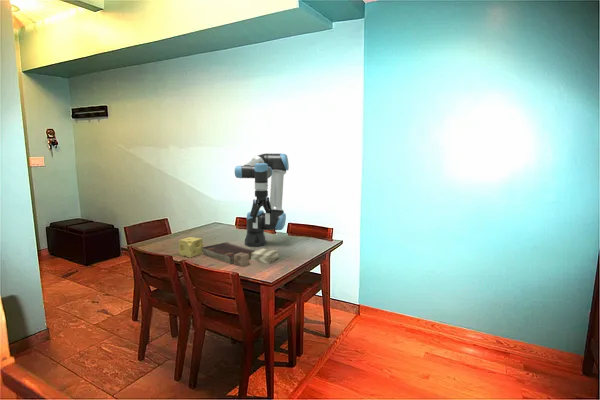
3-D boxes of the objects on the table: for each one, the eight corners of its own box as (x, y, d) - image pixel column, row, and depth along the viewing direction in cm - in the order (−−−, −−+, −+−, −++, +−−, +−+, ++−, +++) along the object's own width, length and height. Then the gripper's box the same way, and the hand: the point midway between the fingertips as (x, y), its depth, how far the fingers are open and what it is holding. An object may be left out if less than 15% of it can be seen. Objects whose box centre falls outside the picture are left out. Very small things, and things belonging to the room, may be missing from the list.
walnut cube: (234, 265, 201) (234, 254, 200) (241, 262, 206) (241, 252, 205) (242, 266, 197) (241, 256, 197) (249, 264, 202) (249, 254, 202)
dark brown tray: (255, 257, 215) (255, 250, 215) (231, 265, 202) (231, 256, 201) (227, 248, 234) (226, 241, 234) (202, 255, 221) (202, 247, 220)
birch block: (250, 261, 208) (250, 253, 208) (261, 255, 219) (261, 248, 218) (268, 264, 203) (268, 255, 203) (278, 258, 214) (278, 250, 213)
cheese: (190, 258, 213) (189, 241, 212) (178, 255, 219) (177, 239, 217) (203, 253, 222) (202, 238, 220) (191, 251, 227) (191, 236, 226)
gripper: (255, 192, 190) (255, 230, 193) (277, 188, 213) (277, 223, 215) (243, 191, 193) (243, 229, 196) (266, 187, 216) (267, 221, 218)
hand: (261, 226), depth 206 cm, fingers open, 13 cm apart
